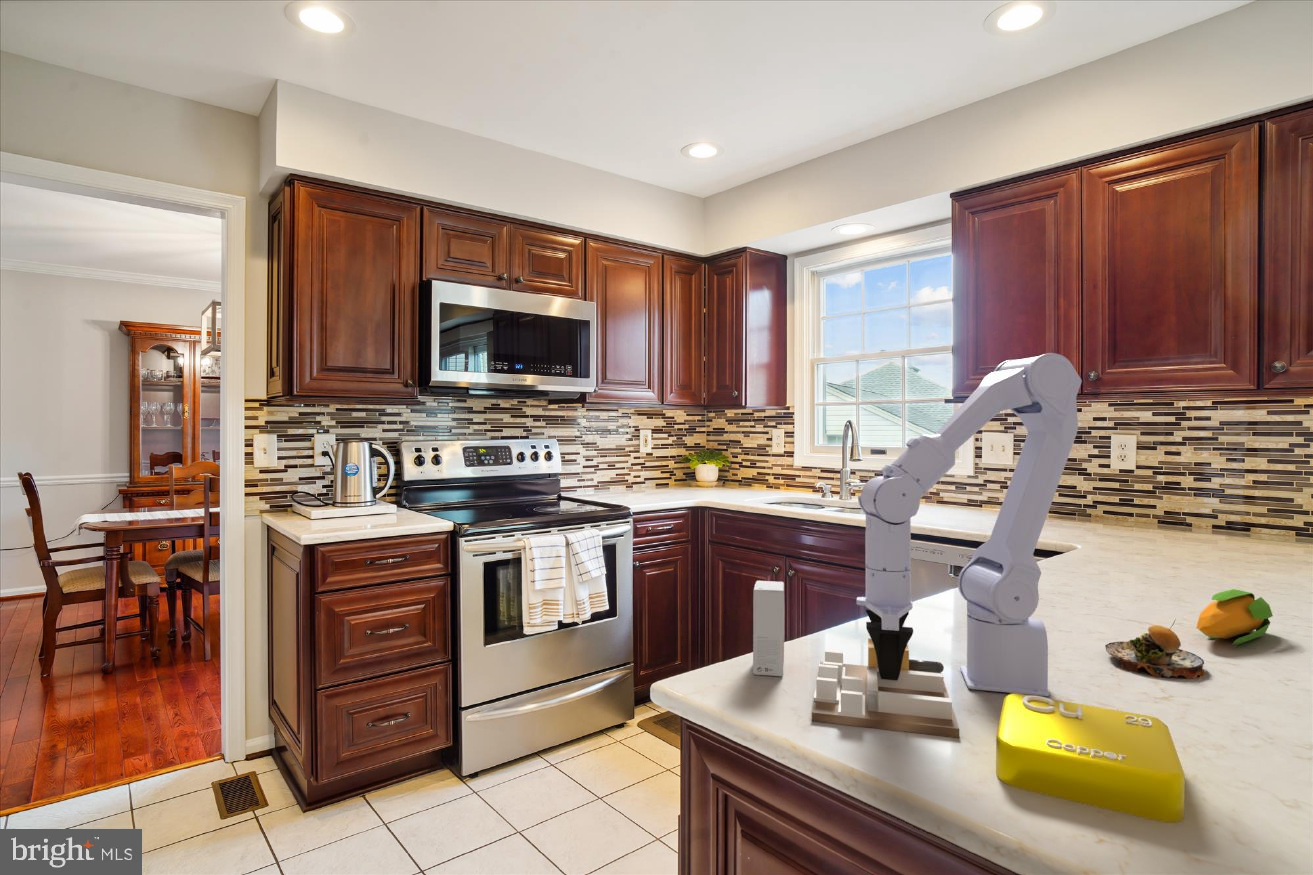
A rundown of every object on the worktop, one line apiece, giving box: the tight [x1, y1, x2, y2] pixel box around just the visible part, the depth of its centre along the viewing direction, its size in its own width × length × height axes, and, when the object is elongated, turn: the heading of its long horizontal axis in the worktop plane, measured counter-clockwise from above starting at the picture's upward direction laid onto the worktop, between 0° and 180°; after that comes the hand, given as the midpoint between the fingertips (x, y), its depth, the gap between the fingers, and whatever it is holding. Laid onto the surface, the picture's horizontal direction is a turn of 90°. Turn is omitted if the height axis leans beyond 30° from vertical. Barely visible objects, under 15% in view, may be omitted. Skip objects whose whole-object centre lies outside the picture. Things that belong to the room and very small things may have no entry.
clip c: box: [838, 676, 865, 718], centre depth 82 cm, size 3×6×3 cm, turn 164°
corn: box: [1196, 588, 1273, 646], centre depth 110 cm, size 7×8×20 cm
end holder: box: [867, 667, 953, 720], centre depth 84 cm, size 9×9×2 cm
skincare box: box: [752, 580, 785, 677], centre depth 98 cm, size 6×4×12 cm
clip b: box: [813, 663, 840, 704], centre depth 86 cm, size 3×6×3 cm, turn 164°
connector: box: [867, 637, 945, 674], centre depth 91 cm, size 9×4×4 cm, turn 73°
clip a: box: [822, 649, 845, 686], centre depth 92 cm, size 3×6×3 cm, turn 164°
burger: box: [1104, 618, 1206, 680], centre depth 99 cm, size 12×12×8 cm
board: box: [811, 661, 960, 739], centre depth 87 cm, size 16×18×1 cm
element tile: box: [995, 693, 1186, 824], centre depth 69 cm, size 15×15×5 cm
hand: (888, 669), depth 91 cm, fingers open, 6 cm apart
